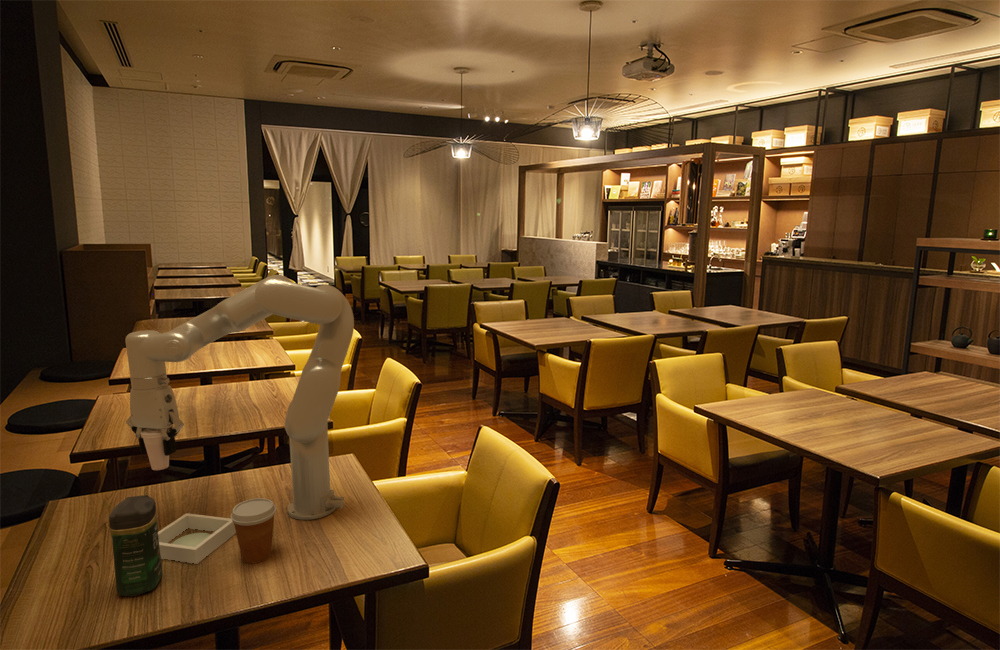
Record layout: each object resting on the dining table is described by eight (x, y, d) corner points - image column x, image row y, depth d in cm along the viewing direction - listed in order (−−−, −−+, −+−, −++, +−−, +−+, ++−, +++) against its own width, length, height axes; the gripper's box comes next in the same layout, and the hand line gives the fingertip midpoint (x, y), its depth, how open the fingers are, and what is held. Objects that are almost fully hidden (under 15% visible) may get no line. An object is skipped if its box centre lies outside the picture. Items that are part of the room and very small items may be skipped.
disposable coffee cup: (235, 572, 130) (231, 521, 128) (232, 550, 138) (228, 502, 136) (281, 560, 134) (278, 511, 132) (276, 540, 143) (272, 493, 140)
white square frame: (236, 532, 146) (235, 519, 146) (196, 564, 133) (195, 549, 132) (187, 526, 149) (186, 513, 149) (143, 556, 136) (141, 542, 135)
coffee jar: (157, 594, 122) (147, 510, 119) (112, 601, 120) (102, 516, 117) (167, 568, 131) (158, 489, 128) (126, 574, 129) (116, 494, 126)
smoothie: (161, 473, 143) (154, 417, 141) (139, 471, 144) (131, 416, 142) (181, 462, 149) (174, 409, 147) (159, 461, 151) (152, 408, 148)
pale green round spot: (221, 536, 144) (221, 535, 144) (195, 556, 136) (194, 555, 136) (189, 532, 146) (189, 530, 146) (161, 552, 138) (161, 550, 138)
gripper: (191, 379, 145) (199, 449, 148) (131, 376, 148) (140, 444, 152) (168, 388, 137) (177, 461, 141) (106, 384, 141) (116, 456, 144)
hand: (158, 452), depth 146 cm, fingers closed on smoothie, 6 cm apart
